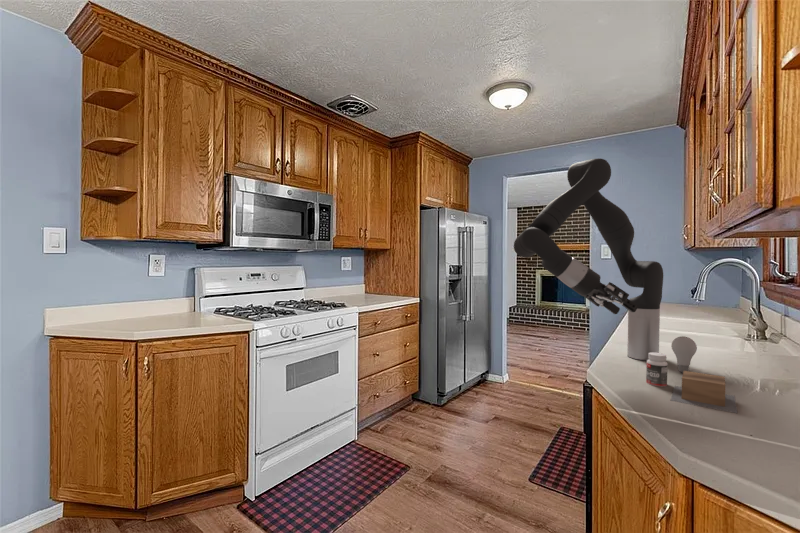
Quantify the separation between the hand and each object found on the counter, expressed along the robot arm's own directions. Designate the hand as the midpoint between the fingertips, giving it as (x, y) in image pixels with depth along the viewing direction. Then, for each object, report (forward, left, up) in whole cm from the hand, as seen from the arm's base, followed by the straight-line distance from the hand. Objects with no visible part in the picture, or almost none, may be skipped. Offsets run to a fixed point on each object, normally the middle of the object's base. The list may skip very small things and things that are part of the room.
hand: (626, 310), depth 109 cm
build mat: (+6, +17, -19) cm, 27 cm away
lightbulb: (-18, +12, -20) cm, 29 cm away
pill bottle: (0, +7, -20) cm, 21 cm away
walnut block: (+6, +17, -19) cm, 26 cm away
